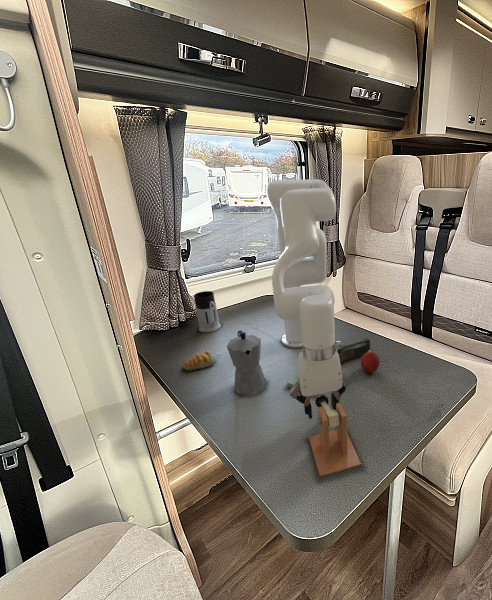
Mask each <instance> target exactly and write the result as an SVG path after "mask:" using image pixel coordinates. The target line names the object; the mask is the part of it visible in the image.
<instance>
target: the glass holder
mask: <svg viewBox="0 0 492 600" xmlns="http://www.w3.org/2000/svg"><path fill="white" fill-rule="evenodd" d="M193 299H194V303H195V304H194V305H195V306H194V307H195V311H196V316H197V321H198V331H199V332H201V333H211V332H214V331H217V330H219V329H220V328H221V326H222V325H221V323H220V320H219V314H218V309H217V304H216V300H215V294H214V292H213V291H211V290H204V291H199V292H195V294H193Z"/></svg>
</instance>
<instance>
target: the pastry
mask: <svg viewBox="0 0 492 600" xmlns="http://www.w3.org/2000/svg"><path fill="white" fill-rule="evenodd" d="M214 363H215V362H214V358H213V356H212V354H211V352H210V351H209V350H205V351H202V352H198V353H196V354H194V355H193V356H192V357H189V358H188V359H186V360H185V361H183V363H182V369H183V370H185V371H194V370H199V369H204V368H206V367H210V366H212V365H213V364H214Z"/></svg>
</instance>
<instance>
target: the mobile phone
mask: <svg viewBox="0 0 492 600" xmlns="http://www.w3.org/2000/svg"><path fill="white" fill-rule="evenodd" d="M369 350H371V340H370V339H369V338H364V339H361V340H357V341H355V342H351V343H350V342H349V343H347V344H343V345H341V346H339V347H338V348H337V352H338V355H339V359H340V363H342V362H345V361H348V360H352V359H353V358H357V357H361V356H363V355H364V354H365V353H367V352H368V351H369Z"/></svg>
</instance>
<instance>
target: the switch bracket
mask: <svg viewBox="0 0 492 600" xmlns="http://www.w3.org/2000/svg"><path fill="white" fill-rule="evenodd" d="M343 407H344V406H343V405H342V403H341V402H339V403H336V412H337V413H338V416H339V424H340V425H338V426H336V429H333V430H329V425H328V419H327V417H326V413H325V411H324V409H323V407H317V412H318V418H317V422H318V427H319V428H318V429H319V433H317V434H313V435H309V436H308V440H309V444H310V447H311V451H312V454H313V458H314V461H315V465H316V468H317V473H318V475H319V478H320V477H324V476H328V475H333V474H336V473H339V472H342V471H346V470H350V469H354V468H357V467H360V466H361V467H362V463H361V460H360V458H359V456H358V453H357V452H356V449H355V447H354V444H353V443H352V440H351V437H350V435H349V433H348V427H347V425H348V424H347V423H348V420H347V412H346V411H345V409H344V408H343Z"/></svg>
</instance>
